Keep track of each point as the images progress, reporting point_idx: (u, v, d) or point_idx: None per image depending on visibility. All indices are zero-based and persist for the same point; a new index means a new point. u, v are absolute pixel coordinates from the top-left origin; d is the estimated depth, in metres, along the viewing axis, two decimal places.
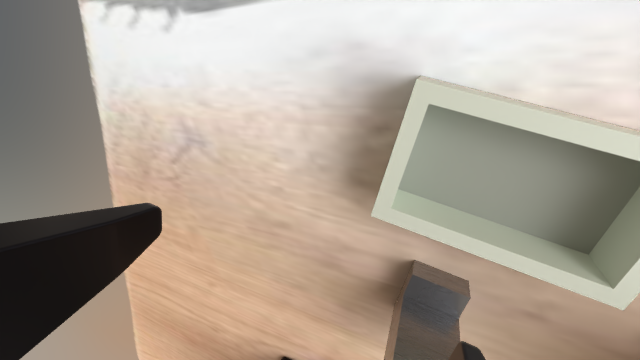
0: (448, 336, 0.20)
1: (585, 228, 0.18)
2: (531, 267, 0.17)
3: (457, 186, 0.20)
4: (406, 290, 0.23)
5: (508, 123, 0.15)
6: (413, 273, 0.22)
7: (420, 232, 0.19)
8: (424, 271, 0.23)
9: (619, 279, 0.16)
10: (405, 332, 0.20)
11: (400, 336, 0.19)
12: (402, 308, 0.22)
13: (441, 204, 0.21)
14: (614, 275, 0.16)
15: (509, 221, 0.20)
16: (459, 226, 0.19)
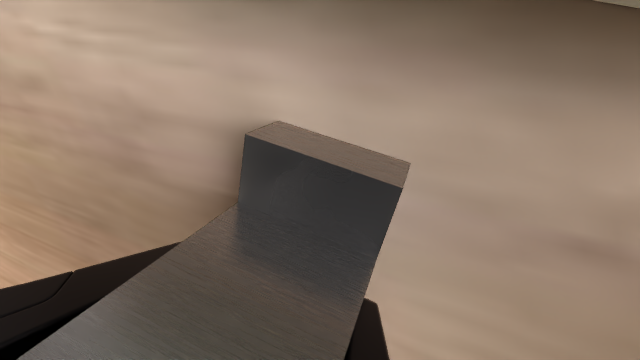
0: (320, 305, 0.06)
1: None
2: None
3: None
4: (242, 189, 0.08)
5: None
6: (251, 134, 0.08)
7: None
8: (289, 135, 0.08)
9: None
10: (154, 288, 0.06)
11: (117, 301, 0.05)
12: (206, 227, 0.07)
13: None
14: None
15: None
16: None
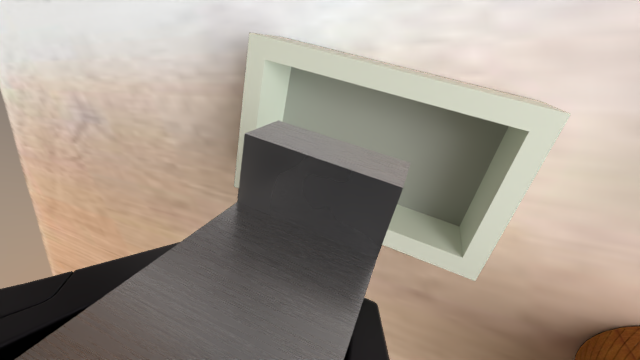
0: (320, 306, 0.06)
1: (452, 197, 0.17)
2: (385, 237, 0.16)
3: None
4: (241, 188, 0.08)
5: (339, 77, 0.14)
6: (250, 133, 0.08)
7: None
8: (288, 135, 0.08)
9: (467, 247, 0.15)
10: (152, 288, 0.05)
11: (116, 301, 0.05)
12: (205, 227, 0.07)
13: None
14: (466, 243, 0.15)
15: None
16: None
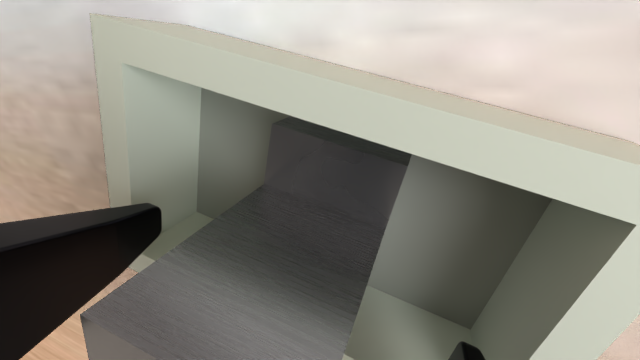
0: (340, 261, 0.07)
1: (460, 286, 0.11)
2: None
3: None
4: (267, 172, 0.10)
5: (246, 98, 0.07)
6: (276, 123, 0.09)
7: None
8: (308, 125, 0.10)
9: None
10: (207, 245, 0.07)
11: (181, 252, 0.06)
12: (240, 203, 0.09)
13: None
14: None
15: None
16: None
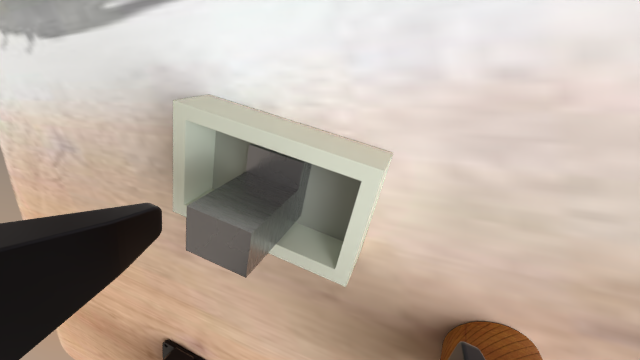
0: (273, 199, 0.19)
1: (340, 221, 0.22)
2: (282, 252, 0.21)
3: None
4: (247, 165, 0.21)
5: (236, 136, 0.19)
6: (251, 144, 0.21)
7: None
8: None
9: (337, 261, 0.20)
10: (222, 192, 0.18)
11: (213, 193, 0.18)
12: (235, 178, 0.20)
13: None
14: None
15: None
16: None
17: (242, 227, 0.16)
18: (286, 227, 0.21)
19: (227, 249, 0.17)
